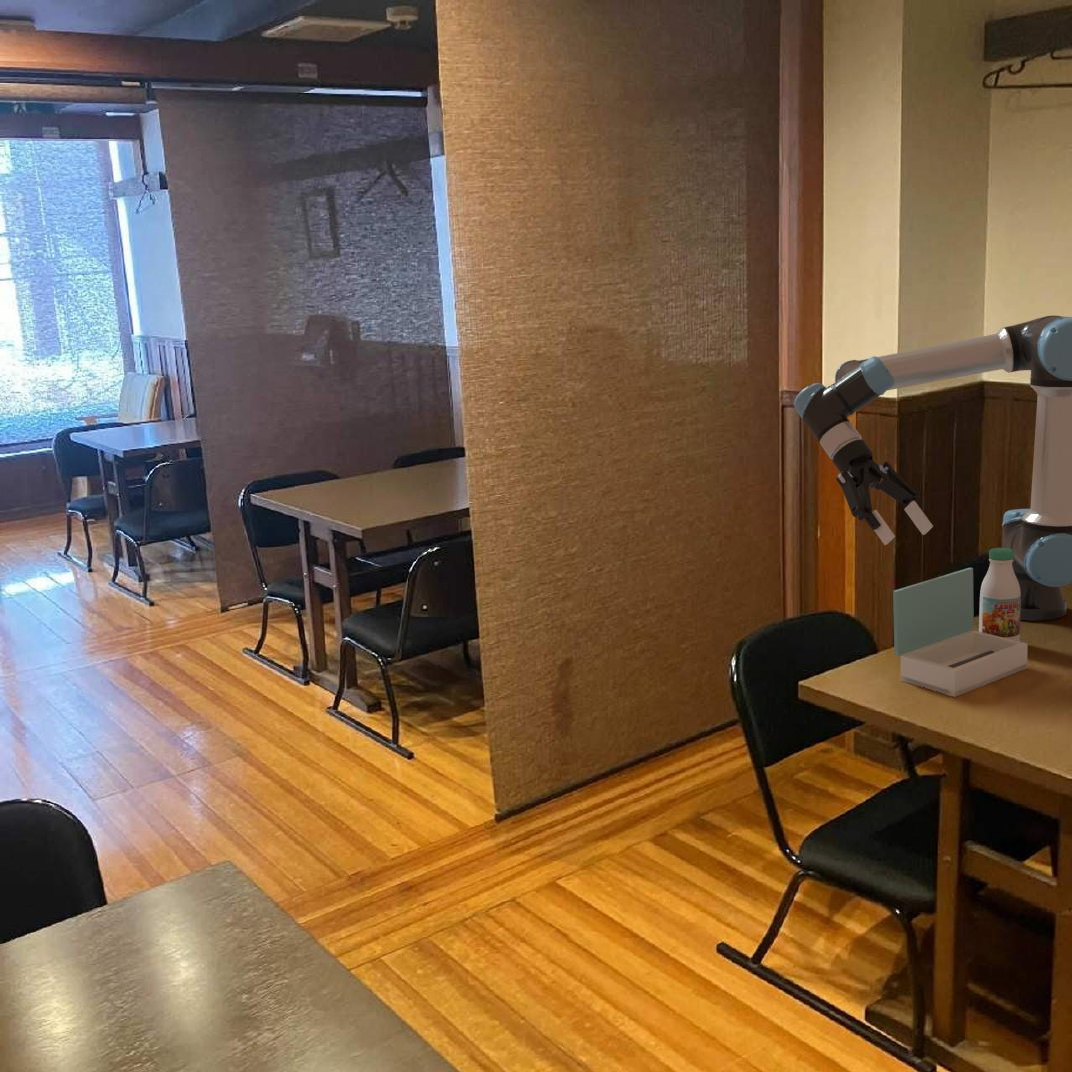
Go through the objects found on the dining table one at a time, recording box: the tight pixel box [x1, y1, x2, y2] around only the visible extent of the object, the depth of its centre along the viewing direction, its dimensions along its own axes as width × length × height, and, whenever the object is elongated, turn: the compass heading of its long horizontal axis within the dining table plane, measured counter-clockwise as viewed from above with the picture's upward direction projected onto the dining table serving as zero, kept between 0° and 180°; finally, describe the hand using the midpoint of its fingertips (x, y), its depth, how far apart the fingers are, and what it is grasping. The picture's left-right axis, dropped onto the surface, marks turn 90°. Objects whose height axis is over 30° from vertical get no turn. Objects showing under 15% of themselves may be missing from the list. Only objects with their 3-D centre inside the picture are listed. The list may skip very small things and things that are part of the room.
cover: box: [892, 567, 975, 657], centre depth 223 cm, size 23×13×1 cm
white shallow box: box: [900, 630, 1028, 698], centre depth 219 cm, size 22×12×5 cm, turn 124°
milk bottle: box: [978, 547, 1021, 642], centre depth 232 cm, size 8×8×20 cm
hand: (909, 535), depth 225 cm, fingers open, 11 cm apart
